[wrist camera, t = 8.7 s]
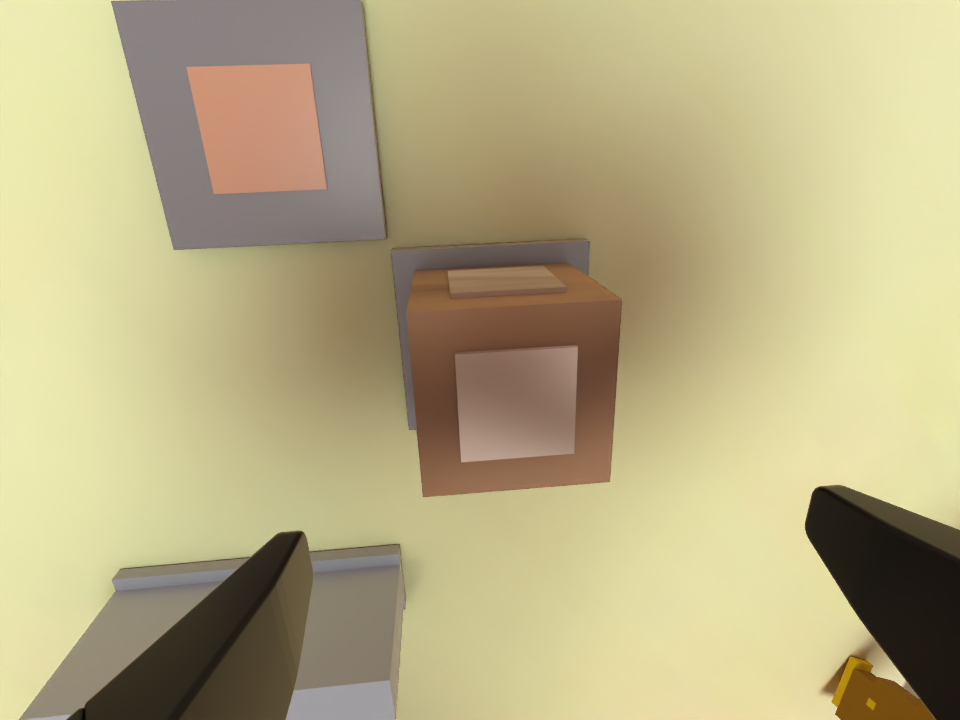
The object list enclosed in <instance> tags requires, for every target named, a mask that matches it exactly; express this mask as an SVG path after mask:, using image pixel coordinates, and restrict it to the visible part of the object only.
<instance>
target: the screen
mask: <svg viewBox="0 0 960 720" xmlns="http://www.w3.org/2000/svg"><path fill="white" fill-rule="evenodd" d="M309 553H310V558H311V562H312V568H313V584H312V591H311V597H310V603H309V609H308V615H307V621H306V628H305V634H304V640H303V646H302V652H301V658H300V664H299V669H298V675H297V679H296V683H295V687H294V691H293V695H292V699H291V702H290V706H289V710H288V713H287V717H286V720H396V706H397V692H398V678H399V663H400V649H401V635H402V620H403V610H404V609H405V604H406V596H405V588H404V579H403V571H402V563H401V554H400V546H399V544H398V545H387V546H376V547H365V548H353V549H342V550H331V551H320V552H309ZM248 559H249V558H242V559H231V560H220V561H209V562H198V563H186V564H175V565H164V566H153V567H142V568H131V569H120V570H119V571H118V573H117V574H116V575H115V577H114V578H113V579H112V582H113V584H114V587H115V590H116V592H115V593H114V594H113V596H112V597H111V598H110V600H109V601H108V602H107V604H106V605H105V606H104V608H103V609H102V610H101V612H100V613H99V614H98V616H97V617H96V618H95V620H94V621H93V622H92V624H91V625H90V626H89V627H88V629H87V630H86V631H85V633H84V634H83V635H82V637H81V638H80V639H79V641H78V642H77V643H76V645H75V646H74V647H73V649H72V650H71V651H70V653H69V654H68V655H67V657H66V658H65V659H64V661H63V662H62V663H61V665H60V666H59V667H58V669H57V670H56V671H55V673H54V674H53V675H52V677H51V678H50V679H49V681H48V682H47V683H46V685H45V686H44V687H43V689H42V690H41V691H40V693H39V694H38V695H37V696H36V698H35V699H34V700H33V702H32V703H31V704H30V706H29V707H28V708H27V710H26V711H25V712H24V714H23V715H22V716H21V718H20V719H19V720H66V719H67V718H68V717H69V716H71V715H72V714H73V713H74V712H75V711H76V710H77V709H79V708H84V706H85V703H86V702H87V701H88V700H89V699H90V698H91V697H92V696H94V695H95V694H96V693H97V692H98V691H99V690H100V689H102V688H103V687H104V686H105V685H106V684H107V683H108V682H109V681H111V680H112V679H113V678H114V677H115V676H116V675H117V674H119V673H120V672H121V671H122V670H123V669H124V668H125V667H126V666H128V665H129V664H130V663H131V662H132V661H133V660H134V659H136V658H137V657H138V656H139V655H140V654H141V653H142V652H144V651H145V650H146V649H147V648H148V647H149V646H150V645H151V644H153V643H154V642H155V641H156V640H157V639H158V638H159V637H161V636H162V635H163V634H164V633H165V632H166V631H167V630H168V629H170V628H171V627H172V626H173V625H174V624H175V623H176V622H178V621H179V620H180V619H181V618H182V617H183V616H184V615H185V614H187V613H188V612H189V611H190V610H191V609H192V608H193V607H195V606H196V605H197V604H198V603H199V602H200V601H201V600H202V599H204V598H205V597H206V596H207V595H208V594H209V593H210V592H212V591H213V590H214V589H215V588H216V587H217V586H218V585H220V584H221V583H222V582H223V581H224V580H225V579H226V578H227V577H229V576H230V575H231V574H232V573H233V572H234V571H235V570H237V569H238V568H239V567H240V566H241V565H242V564H243V563H244V562H246V561H247V560H248Z"/></svg>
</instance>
